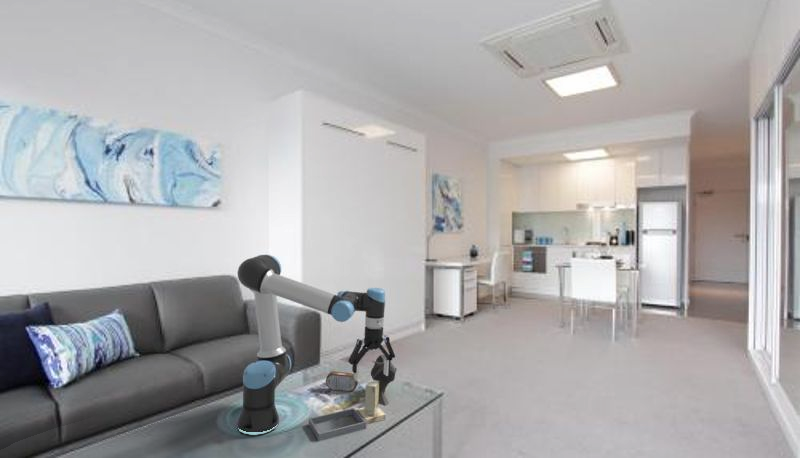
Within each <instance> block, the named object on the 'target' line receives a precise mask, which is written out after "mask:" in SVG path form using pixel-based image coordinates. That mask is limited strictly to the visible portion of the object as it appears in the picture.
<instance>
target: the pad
mask: <svg viewBox="0 0 800 458" xmlns="http://www.w3.org/2000/svg"><path fill="white" fill-rule="evenodd" d="M355 410H356V411H357V412H358V413H359V414H360V415H361V417H362V418H363V419H364V420H365V421H366V425H368V424H372V423H376V422H381V421H385V420H386V413H385V412H384V411H383V410H382V409H381V408H380V407H379V406H378V410H377V412H376V414H375V416H371V415H365V406H364V407H361V408H355Z"/></svg>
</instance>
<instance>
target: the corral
mask: <svg viewBox="0 0 800 458" xmlns="http://www.w3.org/2000/svg"><path fill="white" fill-rule="evenodd" d="M350 416H353V417H354V418H355V419H356V421H358V423H353V424H351V425H350V424H349V425H346V426H343V427H339V428H334V429H331V430H330V429H329V430H327V431H323V432H320V431H319V430H318V428H317V426H316V424H320V423H324V422H325V423H326V422H329V421H333V420H337V419H341V418H345V417H350ZM308 426H309V428H310V429H311V430H312V432H313V434H314V436H315V437H316V439H317V440H318V442H320V441H324V440H328V439H332V438H335V437H339V436H342V435H346V434H350V433H353V432H357V431H363V430H364V429H366V428H367V424H366V421H365V420H364V419H363V418H362V417H361V415H360V414H359V413H358V412H357V411H356V408H355V407H353V408H348V409H344V410H343V409H342V410H339V411H335V412H331V413H326V414H321V415H318V416H314V417H309V418H308Z"/></svg>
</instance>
